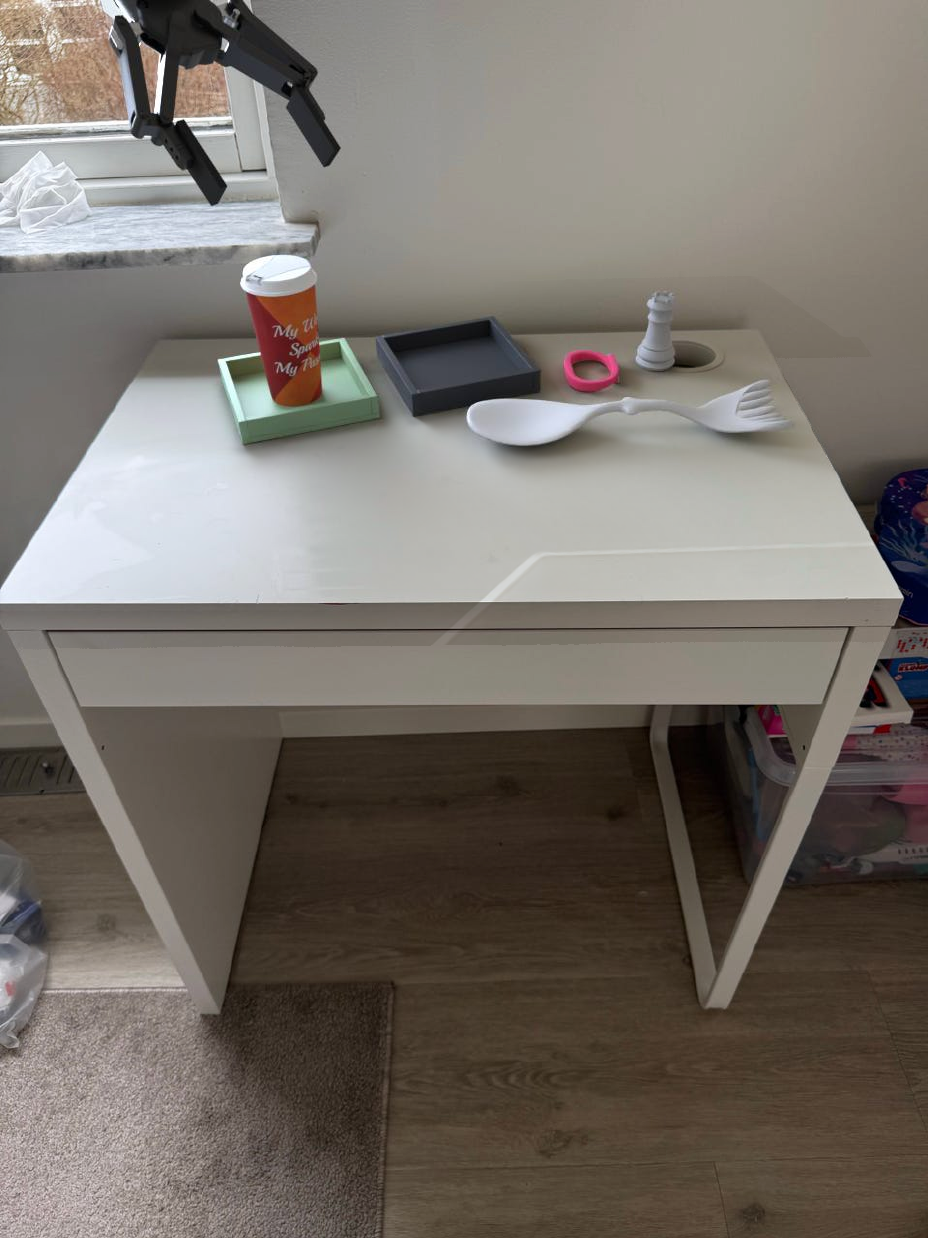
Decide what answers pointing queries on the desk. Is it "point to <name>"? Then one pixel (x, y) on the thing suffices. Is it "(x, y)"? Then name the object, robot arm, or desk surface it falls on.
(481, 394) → the charcoal tray
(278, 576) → the desk surface
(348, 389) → the sage tray
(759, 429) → the spoon
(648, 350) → the rook chess piece
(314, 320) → the paper cup
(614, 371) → the fitness band
